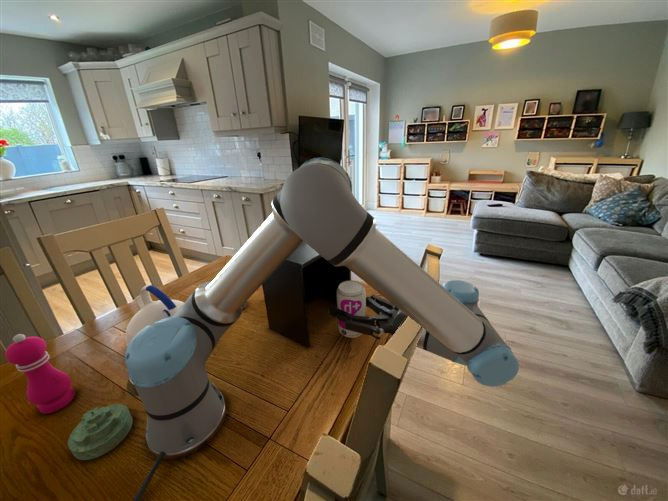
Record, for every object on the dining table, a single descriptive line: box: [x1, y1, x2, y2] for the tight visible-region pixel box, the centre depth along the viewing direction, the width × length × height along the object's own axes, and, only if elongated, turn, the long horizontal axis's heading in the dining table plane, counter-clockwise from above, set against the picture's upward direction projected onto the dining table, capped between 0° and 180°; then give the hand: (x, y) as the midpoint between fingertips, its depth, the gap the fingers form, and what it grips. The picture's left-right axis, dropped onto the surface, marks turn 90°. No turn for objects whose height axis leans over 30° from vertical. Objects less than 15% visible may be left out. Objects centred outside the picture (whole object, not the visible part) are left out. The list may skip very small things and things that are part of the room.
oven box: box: [261, 242, 352, 349], centre depth 87 cm, size 17×24×27 cm
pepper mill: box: [4, 333, 76, 415], centre depth 62 cm, size 7×7×20 cm
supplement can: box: [336, 280, 367, 339], centre depth 80 cm, size 8×8×15 cm
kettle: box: [124, 284, 185, 348], centre depth 83 cm, size 20×21×18 cm
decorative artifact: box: [67, 403, 134, 461], centre depth 56 cm, size 10×7×10 cm
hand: (338, 302), depth 83 cm, fingers closed on supplement can, 8 cm apart
